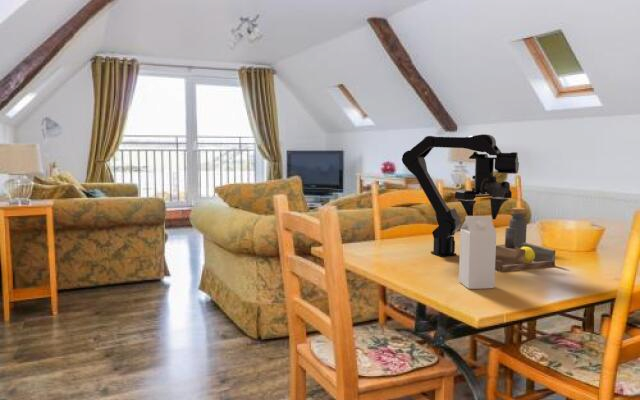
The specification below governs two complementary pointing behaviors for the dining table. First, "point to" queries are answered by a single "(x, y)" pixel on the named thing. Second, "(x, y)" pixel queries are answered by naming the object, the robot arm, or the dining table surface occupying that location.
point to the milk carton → (477, 252)
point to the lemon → (529, 254)
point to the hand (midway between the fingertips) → (482, 220)
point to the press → (542, 259)
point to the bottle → (519, 225)
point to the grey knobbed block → (510, 249)
